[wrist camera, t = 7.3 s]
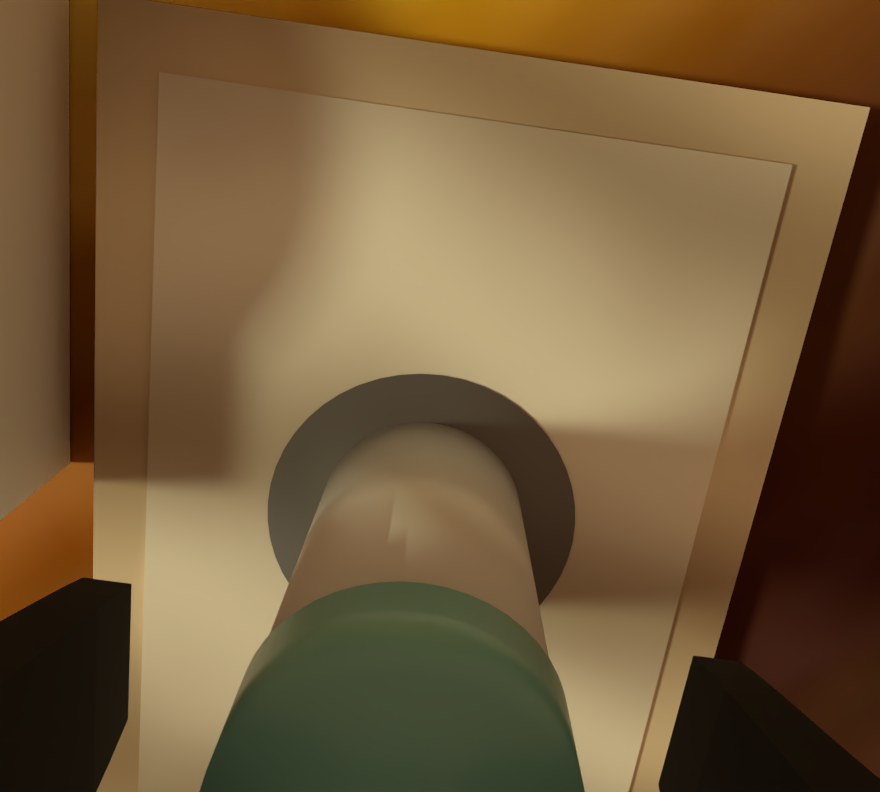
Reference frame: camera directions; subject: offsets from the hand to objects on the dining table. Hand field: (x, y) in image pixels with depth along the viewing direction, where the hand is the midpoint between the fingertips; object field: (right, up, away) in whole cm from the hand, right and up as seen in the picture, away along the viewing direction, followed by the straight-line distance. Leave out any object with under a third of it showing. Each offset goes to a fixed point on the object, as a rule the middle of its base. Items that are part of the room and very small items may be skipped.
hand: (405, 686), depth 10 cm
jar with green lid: (0, +2, +4) cm, 5 cm away
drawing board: (0, +2, +5) cm, 5 cm away
